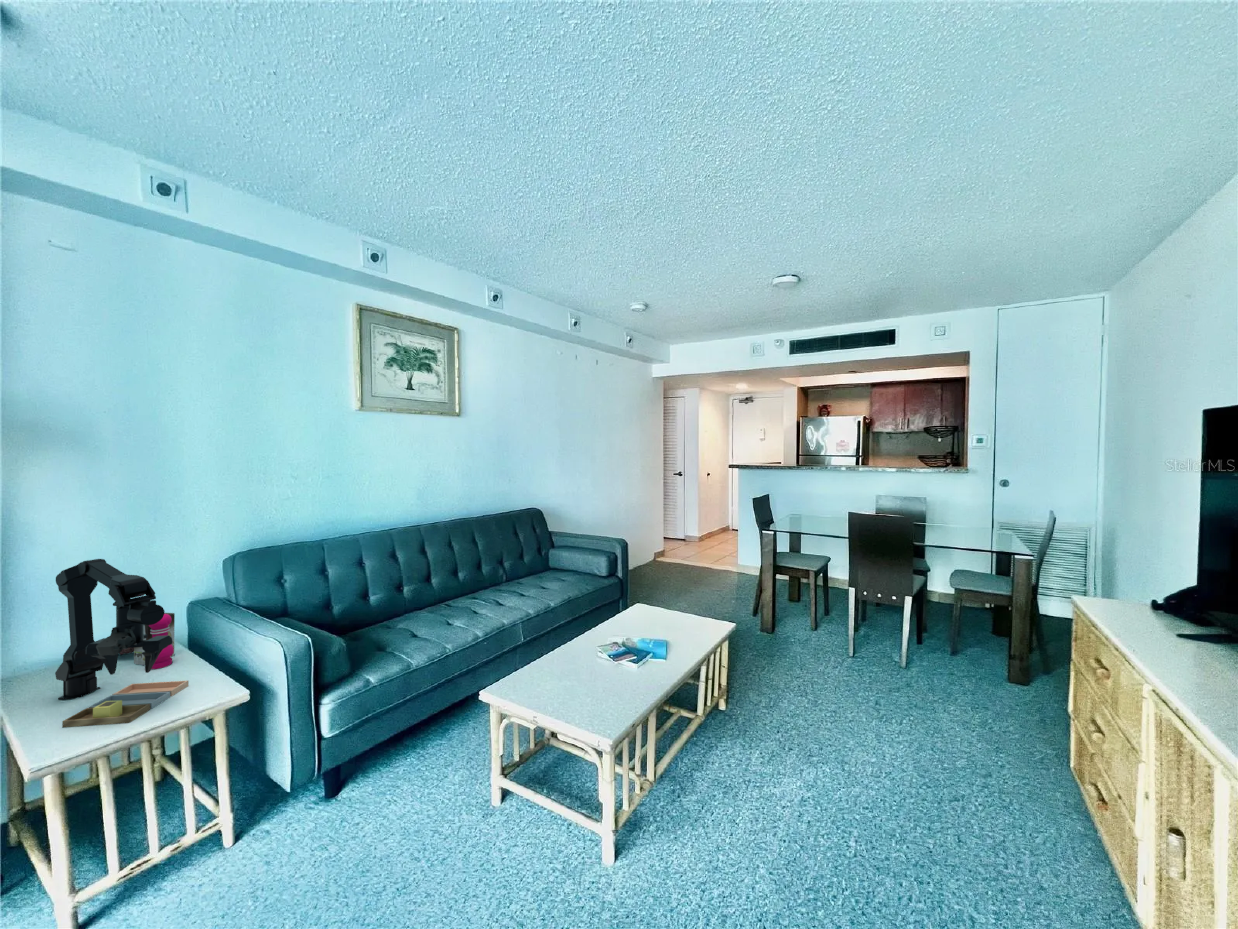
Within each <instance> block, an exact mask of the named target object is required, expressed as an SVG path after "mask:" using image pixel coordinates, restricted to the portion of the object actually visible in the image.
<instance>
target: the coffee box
mask: <svg viewBox="0 0 1238 929" xmlns="http://www.w3.org/2000/svg"><path fill="white" fill-rule="evenodd" d="M164 614H168V615H170V616H171V619H172V621H171V623H170V624H169V625H168V626H169V627H170V628H169V629H170V630H169V631H168V635H169V636H171V637H172V646H173V648H174V649H175V621H176V620H175V612H165V613H164ZM151 629H152V628H150V627H149V625H144V634H147V638H145V639H144V640H149V639H151V638H152V634H150V632H151V631H150V630H151ZM143 652H145V651H144V650H143V649H142V647H134V652H133V664H134V665H141V666H145V656H144V655H143V654H142V653H143ZM172 657H175V652H174V653H173V654H172V656H171V658H172Z"/></svg>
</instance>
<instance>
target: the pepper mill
mask: <svg viewBox="0 0 1238 929" xmlns="http://www.w3.org/2000/svg"><path fill="white" fill-rule="evenodd" d="M171 621H172V619H171V616H170V615H168V614H164V616H163V618H162V619H161V620H160V621H159V622H157V623H155V624H153V625H149V627H150V628H152V629H151V630H150V631H151V632H150V634H152V638H153V637H156V636H166V635H168V631H169V630H170V629H169V628H170V627H169V626H168V625H169V624H170V623H171ZM173 653H174V654H175V647H174V648H173V646H172V644H171V645H169V646H167V647H166V648H164V649H163V650H162V651H161V653H160V654H159V656H158V657H157V659H156V661H155V663H154V665H153V667H152V668H151V670H157V669H162V668H167V667H168V666H170V665H172V664H173V658H172V657H173V656H172V654H173ZM171 656H172V657H171Z"/></svg>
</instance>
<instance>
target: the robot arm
mask: <svg viewBox="0 0 1238 929" xmlns="http://www.w3.org/2000/svg"><path fill="white" fill-rule="evenodd" d="M55 583H56V585H57V588H58V592H60V593H61V594H62V595H63V596H64V597H65V598H67V611H68V614H67V615H68V626H69V627H68V628H69V642H70V644H69V646H68V648H66V650H65V652H64V654H63V655H62V656H63V657H62V663H61V664H60V665H59V667H58V668H57V670H56V671H55V673H54V675H55V679H56V680H58V681H63V684H62V686H63V692H62V693H63V694H62V696H59V697H57V700H73V699H78V698H84V697H85V696H87V695H90V694H91V693H93V692H95V691H98V690H100V689H101V687H100V686H98V677H97V676H96V675H97V673H96V672H99V671H103V667H104V666H105V669H106V670H107V671H108V673H109V675H110V676H111V675H115V673H116V670H117V667H118V660H119V659H118V658H119V655H120V654H119V653H120V652H121V651H122V650H123V649H127V648H134V647H142V649H143V650H144V651H145V652H143V653H142V654H143V655H144V656H145V665H144V670H145V673H146V674H148V673H149V672H151V671H152V669H151V668H152V667H153V665H154V663H155V661H156V659H157V657H158V656H159V654H160V653H161V651H162V650H163V649H164V648H166V647H167V646H169V645H171V644H172V637H171V636H169V635H166V636H156V637H153V638H151V639H149V640H144V639H145V638H147V634H144V625H153V624H155V623H157V622H159V621H160V620H161V619H162V618H163V616H164V613H166V612H165V609H164V607H163V606H162V605H160V604H157V600H156V599H157V596H156V592H155V590H154V589H153V587H152V586H151V584H150V582H149V580H147V578H146V577H144V576H141V575H137V574H126V573H125V572H123V571H121V570H120V569H118V568H116V567H114V566H113V565H111V564H110V563H107V560H105V559H104V558H95V559H87V560H83V561H80V562H79V563H78V564H76V565H73V566H71V567H68V568H66V569H63V570H61V571H60V572H59V573H58V574H57V575H56V576H55ZM98 583H100V584H102V585H103V586H105V587H106V588H108V592H107V593H108V595H109V596H110V597H111V599H112V600H113V601H114V602H113V603H112V606H114V607H115V618H116V619H115V625H116V626H113V627H112V628H111V630H110V635H108V636H107V637H104V638H101V639H98V640H95V639H94V626H93V610H92V608H93V607H92V597H91V595H92V593H93V592H94V591H95V589H96V588H97V586H98Z"/></svg>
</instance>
